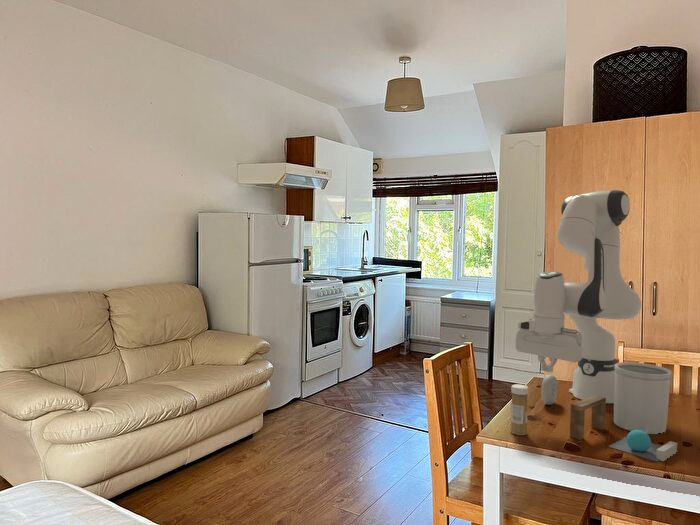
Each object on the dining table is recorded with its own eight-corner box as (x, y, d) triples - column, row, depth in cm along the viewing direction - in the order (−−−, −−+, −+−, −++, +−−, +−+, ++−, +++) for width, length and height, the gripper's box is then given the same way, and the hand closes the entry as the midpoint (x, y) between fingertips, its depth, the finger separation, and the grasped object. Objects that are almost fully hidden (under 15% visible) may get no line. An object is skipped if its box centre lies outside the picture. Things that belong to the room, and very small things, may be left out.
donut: (548, 399, 182) (549, 371, 182) (558, 401, 180) (559, 372, 180) (539, 406, 174) (540, 376, 174) (550, 408, 172) (550, 378, 172)
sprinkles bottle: (530, 434, 149) (531, 386, 149) (519, 437, 147) (521, 389, 146) (517, 429, 153) (518, 382, 153) (506, 432, 151) (508, 385, 150)
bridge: (569, 436, 148) (570, 404, 147) (594, 425, 157) (595, 395, 156) (580, 440, 145) (581, 406, 145) (604, 428, 155) (605, 397, 154)
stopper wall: (670, 450, 139) (670, 441, 139) (676, 452, 138) (677, 443, 137) (656, 459, 133) (656, 449, 133) (663, 461, 132) (663, 451, 132)
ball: (655, 450, 137) (633, 447, 142) (653, 429, 138) (631, 426, 142) (646, 455, 134) (624, 452, 138) (643, 433, 134) (621, 430, 139)
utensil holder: (674, 426, 158) (676, 367, 157) (662, 439, 147) (665, 376, 146) (620, 414, 168) (622, 359, 167) (606, 426, 157) (608, 367, 156)
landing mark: (627, 436, 148) (628, 436, 148) (675, 450, 139) (675, 449, 139) (608, 446, 141) (608, 446, 141) (657, 461, 131) (657, 461, 131)
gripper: (587, 329, 154) (585, 376, 154) (524, 320, 170) (523, 363, 170) (576, 331, 150) (575, 380, 150) (513, 322, 166) (512, 366, 166)
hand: (547, 371), depth 160 cm, fingers closed
